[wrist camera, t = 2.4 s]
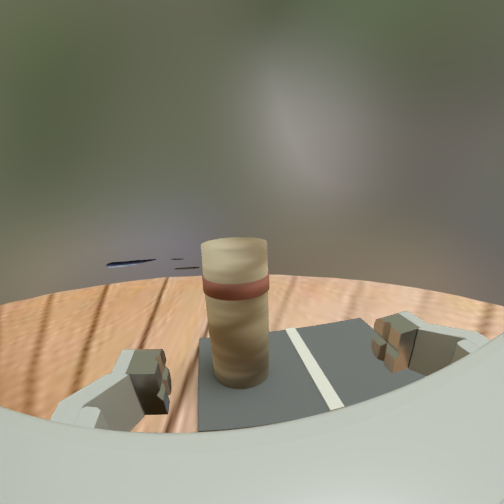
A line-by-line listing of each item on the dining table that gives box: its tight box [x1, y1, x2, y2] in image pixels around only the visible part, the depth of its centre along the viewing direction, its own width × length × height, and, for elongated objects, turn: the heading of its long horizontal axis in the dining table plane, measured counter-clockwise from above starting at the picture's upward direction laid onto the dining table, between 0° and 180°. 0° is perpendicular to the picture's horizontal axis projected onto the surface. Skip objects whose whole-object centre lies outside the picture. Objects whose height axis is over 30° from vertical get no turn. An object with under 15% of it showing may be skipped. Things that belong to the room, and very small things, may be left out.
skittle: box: [201, 237, 269, 389], centre depth 22 cm, size 5×5×12 cm
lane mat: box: [198, 318, 426, 432], centre depth 24 cm, size 20×14×1 cm
